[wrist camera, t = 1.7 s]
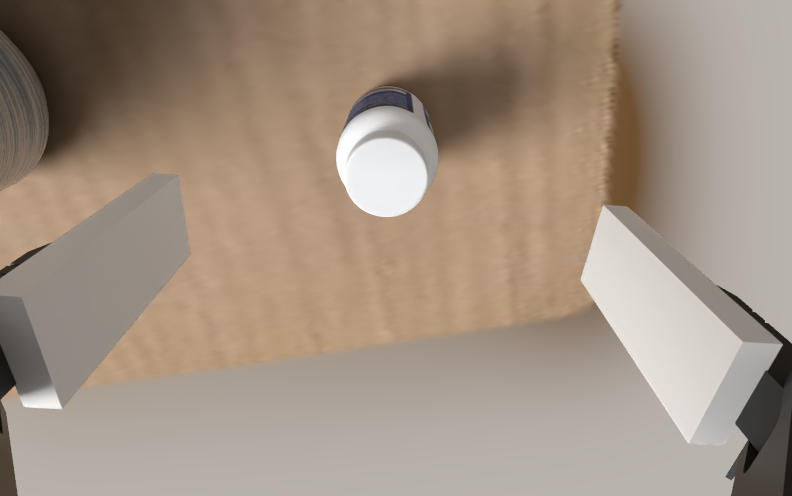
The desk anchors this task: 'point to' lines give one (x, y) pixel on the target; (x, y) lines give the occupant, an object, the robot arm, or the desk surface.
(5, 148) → the vase
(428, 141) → the pill bottle
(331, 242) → the desk surface
